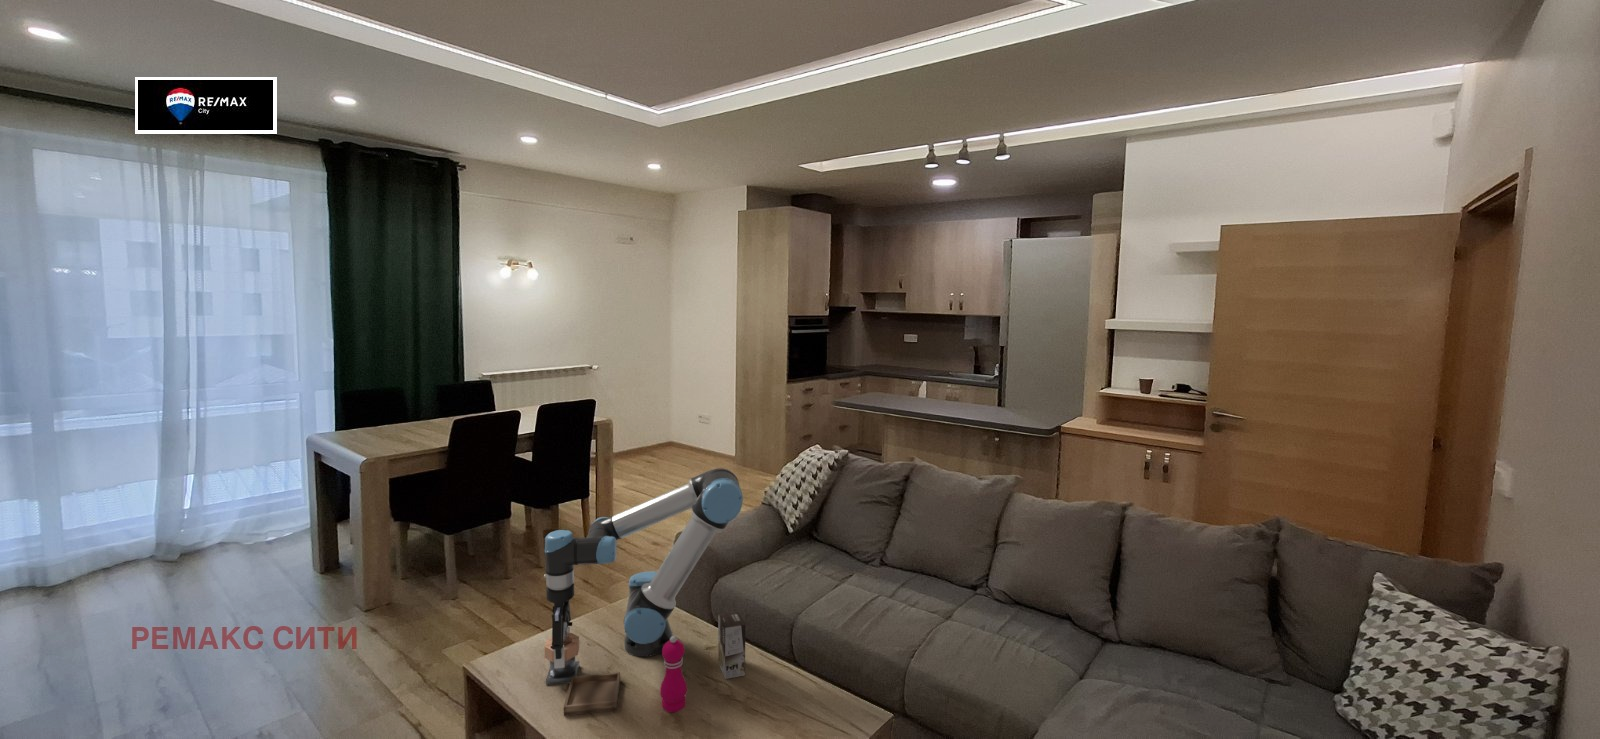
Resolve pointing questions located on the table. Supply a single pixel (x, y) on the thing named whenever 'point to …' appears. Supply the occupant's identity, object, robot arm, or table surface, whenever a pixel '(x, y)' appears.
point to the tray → (592, 694)
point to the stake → (563, 673)
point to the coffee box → (731, 644)
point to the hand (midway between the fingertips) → (562, 657)
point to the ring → (569, 650)
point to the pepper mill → (673, 676)
